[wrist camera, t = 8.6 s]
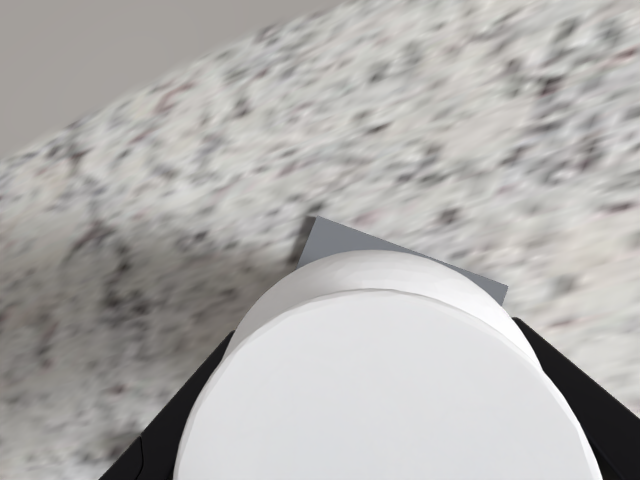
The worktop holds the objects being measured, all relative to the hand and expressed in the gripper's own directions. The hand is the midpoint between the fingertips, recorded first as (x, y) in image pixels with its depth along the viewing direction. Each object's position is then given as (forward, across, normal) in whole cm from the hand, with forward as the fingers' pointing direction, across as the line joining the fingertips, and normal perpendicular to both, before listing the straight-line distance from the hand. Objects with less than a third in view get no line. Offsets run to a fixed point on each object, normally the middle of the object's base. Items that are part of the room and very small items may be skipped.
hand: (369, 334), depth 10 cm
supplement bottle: (+4, 0, +6) cm, 7 cm away
